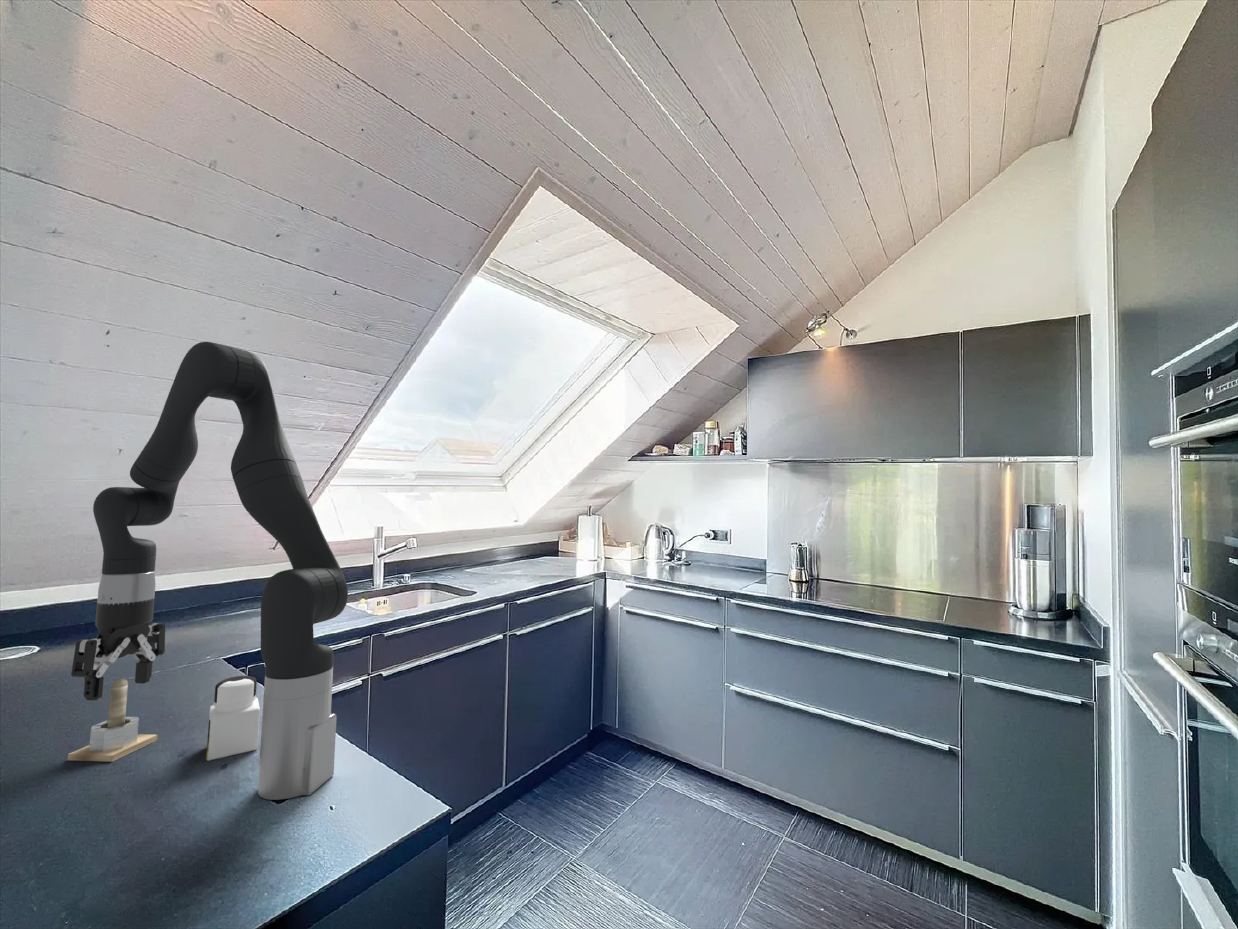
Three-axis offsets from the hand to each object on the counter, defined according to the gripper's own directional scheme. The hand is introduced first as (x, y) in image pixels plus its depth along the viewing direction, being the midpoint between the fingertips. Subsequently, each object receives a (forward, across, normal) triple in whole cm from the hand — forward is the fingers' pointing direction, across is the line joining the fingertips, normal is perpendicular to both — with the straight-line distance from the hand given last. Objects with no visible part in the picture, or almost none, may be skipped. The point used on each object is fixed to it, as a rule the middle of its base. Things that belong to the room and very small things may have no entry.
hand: (119, 690), depth 92 cm
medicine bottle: (+10, +2, -20) cm, 23 cm away
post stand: (+10, 0, 0) cm, 10 cm away
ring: (+9, 0, 0) cm, 9 cm away
